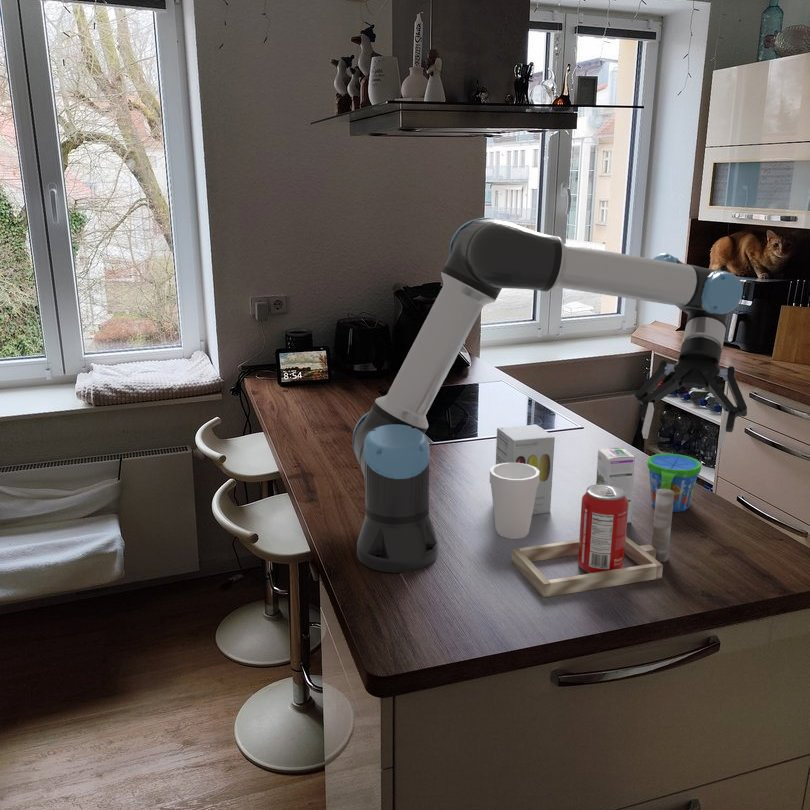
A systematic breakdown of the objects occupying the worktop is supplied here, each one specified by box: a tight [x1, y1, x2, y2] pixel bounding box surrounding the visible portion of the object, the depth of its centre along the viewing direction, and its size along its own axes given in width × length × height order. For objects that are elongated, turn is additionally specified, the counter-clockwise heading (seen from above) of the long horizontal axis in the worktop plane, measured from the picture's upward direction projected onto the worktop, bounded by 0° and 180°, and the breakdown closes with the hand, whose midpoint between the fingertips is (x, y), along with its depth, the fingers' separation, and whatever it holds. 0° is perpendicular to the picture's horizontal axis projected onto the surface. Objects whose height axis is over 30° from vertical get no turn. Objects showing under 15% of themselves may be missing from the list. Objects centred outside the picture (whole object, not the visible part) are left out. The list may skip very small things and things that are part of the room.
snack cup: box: [647, 453, 702, 513], centre depth 162 cm, size 16×10×10 cm
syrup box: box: [595, 447, 636, 524], centre depth 155 cm, size 6×6×14 cm
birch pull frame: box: [511, 489, 674, 598], centre depth 135 cm, size 28×13×13 cm, turn 106°
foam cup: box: [489, 463, 540, 540], centre depth 150 cm, size 10×9×13 cm
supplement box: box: [495, 424, 556, 516], centre depth 161 cm, size 10×9×17 cm
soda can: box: [577, 484, 628, 574], centre depth 135 cm, size 8×8×15 cm
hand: (681, 440), depth 144 cm, fingers open, 13 cm apart
